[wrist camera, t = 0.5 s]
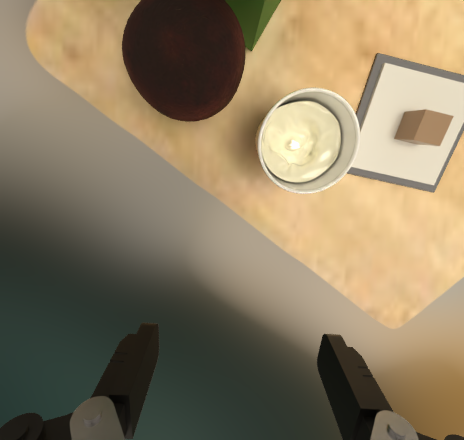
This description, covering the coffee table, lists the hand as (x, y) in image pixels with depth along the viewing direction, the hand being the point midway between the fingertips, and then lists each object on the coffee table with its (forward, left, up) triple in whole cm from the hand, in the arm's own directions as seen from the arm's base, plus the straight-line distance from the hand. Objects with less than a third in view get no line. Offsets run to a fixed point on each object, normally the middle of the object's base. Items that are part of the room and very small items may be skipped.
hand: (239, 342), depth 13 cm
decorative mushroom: (-15, -8, -28) cm, 33 cm away
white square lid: (-15, +21, -27) cm, 38 cm away
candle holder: (-10, +5, -28) cm, 30 cm away
